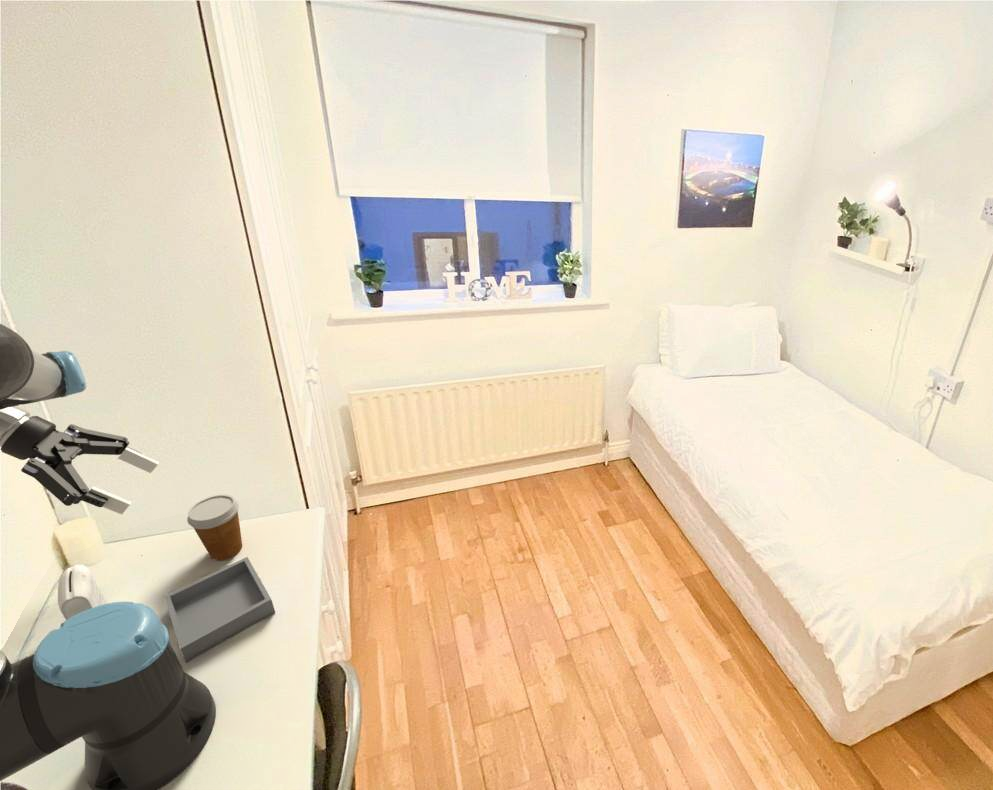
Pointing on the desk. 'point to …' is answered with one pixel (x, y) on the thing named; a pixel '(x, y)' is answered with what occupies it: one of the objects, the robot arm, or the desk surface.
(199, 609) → the charcoal tray
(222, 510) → the disposable coffee cup
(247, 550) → the desk surface
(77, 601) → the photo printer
